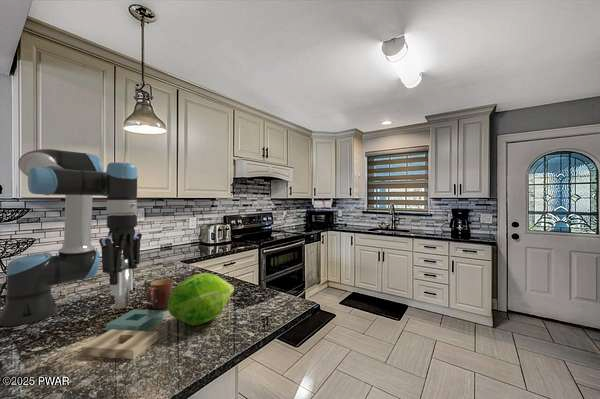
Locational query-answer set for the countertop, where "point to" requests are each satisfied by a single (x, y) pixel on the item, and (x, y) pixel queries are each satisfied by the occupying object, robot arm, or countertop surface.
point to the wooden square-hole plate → (112, 348)
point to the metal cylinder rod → (124, 286)
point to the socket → (136, 320)
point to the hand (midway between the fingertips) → (122, 292)
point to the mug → (160, 293)
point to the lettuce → (199, 298)
